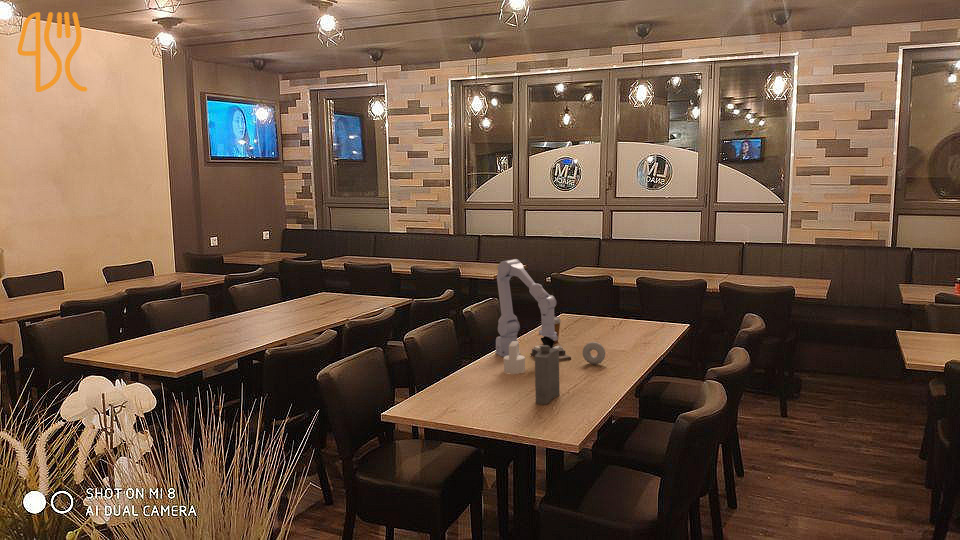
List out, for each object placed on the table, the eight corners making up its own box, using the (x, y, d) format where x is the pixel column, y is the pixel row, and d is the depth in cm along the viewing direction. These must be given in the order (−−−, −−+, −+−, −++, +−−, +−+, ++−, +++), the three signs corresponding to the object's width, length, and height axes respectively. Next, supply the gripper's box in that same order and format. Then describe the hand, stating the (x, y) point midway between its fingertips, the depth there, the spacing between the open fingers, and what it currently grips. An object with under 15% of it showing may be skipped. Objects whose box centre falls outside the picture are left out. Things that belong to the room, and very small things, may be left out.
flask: (547, 392, 277) (546, 340, 274) (561, 394, 274) (560, 342, 272) (531, 403, 264) (530, 349, 261) (546, 405, 261) (545, 351, 259)
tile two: (555, 352, 327) (555, 348, 327) (551, 351, 331) (550, 346, 331) (562, 351, 329) (562, 347, 328) (558, 349, 332) (558, 345, 332)
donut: (581, 364, 315) (581, 342, 314) (583, 362, 318) (583, 340, 317) (604, 366, 311) (604, 343, 310) (606, 364, 315) (606, 341, 313)
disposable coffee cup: (561, 339, 363) (560, 316, 361) (561, 344, 353) (561, 320, 352) (542, 340, 364) (541, 316, 362) (541, 344, 354) (541, 320, 353)
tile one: (538, 352, 329) (538, 347, 329) (534, 350, 333) (534, 345, 333) (546, 351, 331) (546, 346, 330) (542, 349, 334) (542, 344, 334)
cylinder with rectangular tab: (523, 374, 303) (523, 346, 301) (502, 373, 304) (501, 345, 303) (526, 368, 311) (526, 341, 310) (505, 368, 313) (505, 341, 312)
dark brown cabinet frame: (545, 363, 319) (545, 356, 319) (530, 355, 333) (530, 349, 333) (571, 359, 324) (571, 353, 324) (555, 352, 338) (555, 346, 338)
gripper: (563, 325, 316) (564, 355, 317) (548, 319, 329) (549, 349, 331) (549, 327, 313) (549, 357, 315) (534, 321, 327) (535, 350, 328)
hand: (548, 353), depth 323 cm, fingers closed, pressing on tile three
